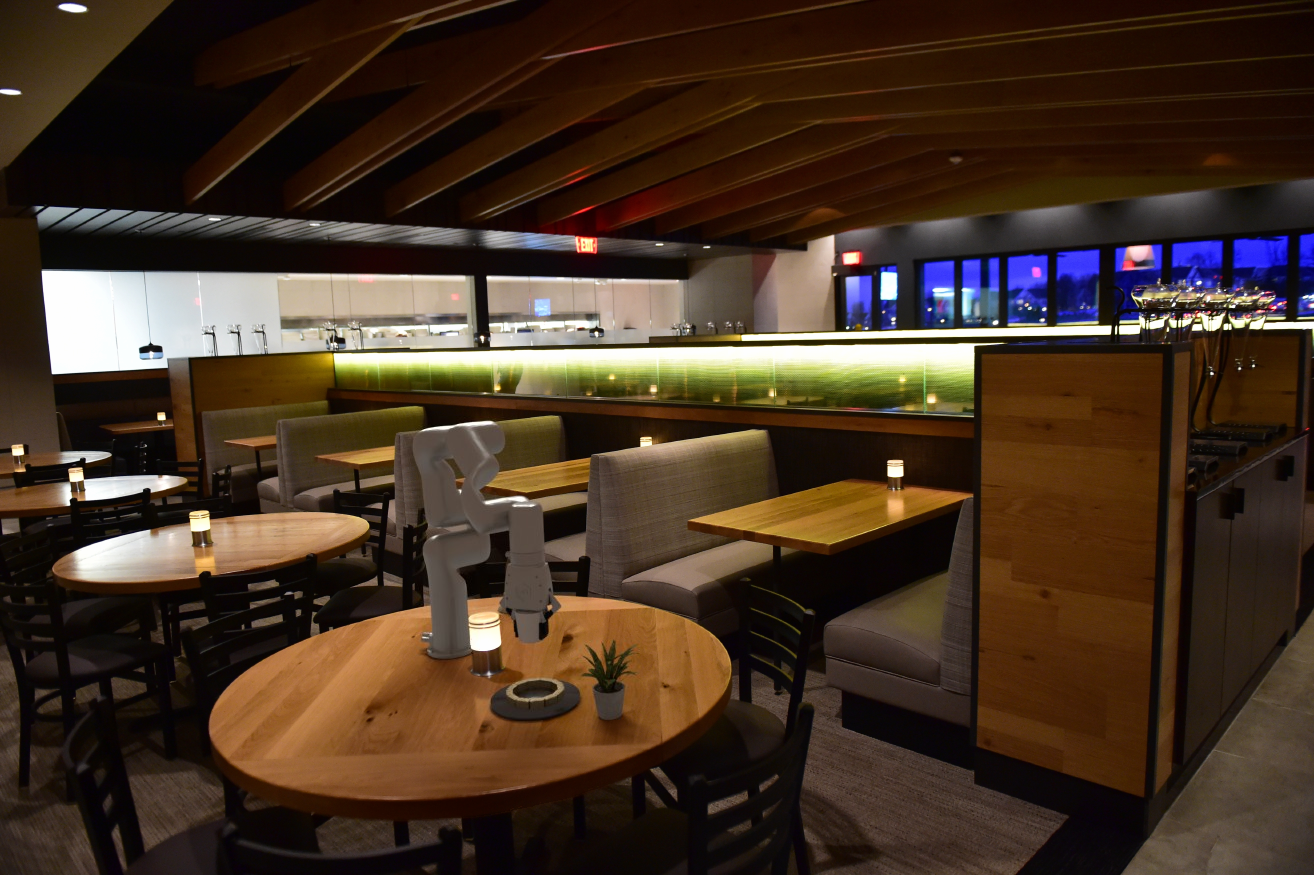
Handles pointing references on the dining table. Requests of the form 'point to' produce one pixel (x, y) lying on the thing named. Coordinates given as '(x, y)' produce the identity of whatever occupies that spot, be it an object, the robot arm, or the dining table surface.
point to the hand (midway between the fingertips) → (531, 636)
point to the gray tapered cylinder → (528, 625)
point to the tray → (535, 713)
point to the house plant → (609, 682)
